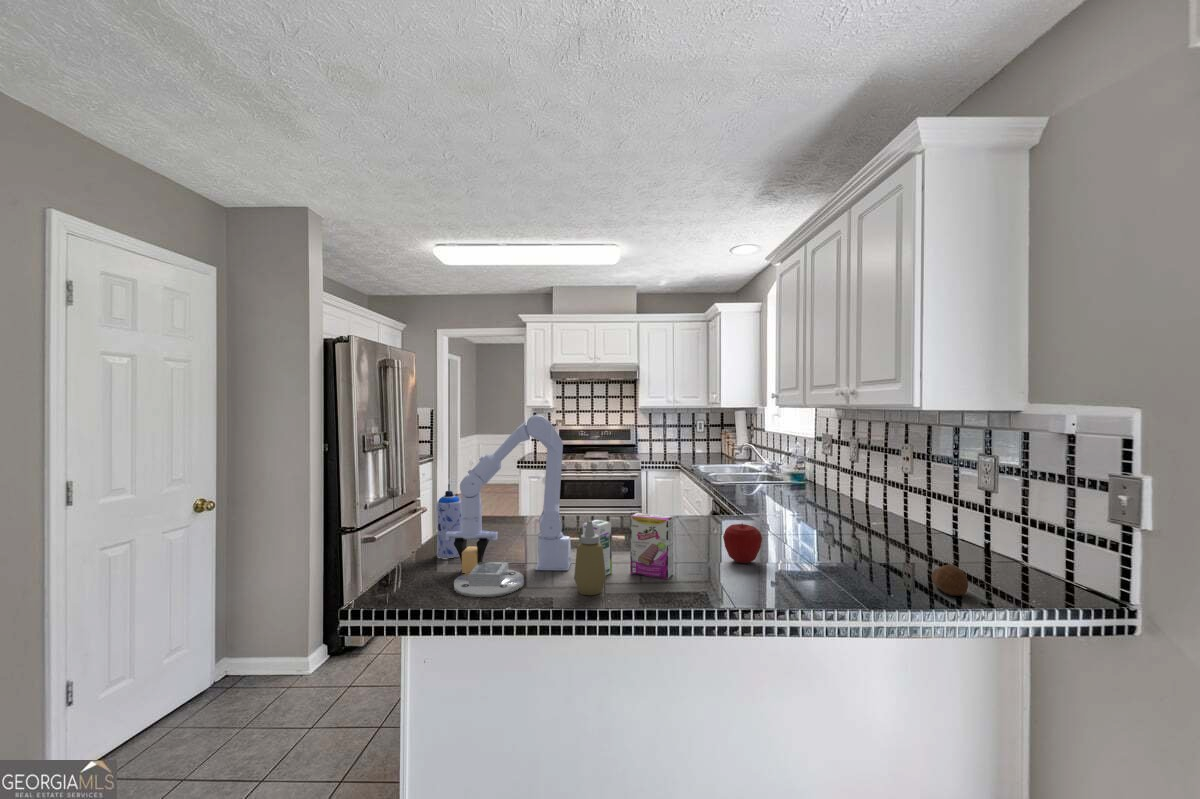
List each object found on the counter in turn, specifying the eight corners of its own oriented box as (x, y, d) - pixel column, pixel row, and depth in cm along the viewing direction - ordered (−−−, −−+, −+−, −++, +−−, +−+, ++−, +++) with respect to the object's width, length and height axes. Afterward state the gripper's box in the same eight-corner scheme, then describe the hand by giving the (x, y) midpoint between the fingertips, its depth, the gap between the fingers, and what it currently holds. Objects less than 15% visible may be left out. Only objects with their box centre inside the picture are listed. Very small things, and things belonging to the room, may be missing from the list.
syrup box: (599, 578, 155) (599, 525, 155) (583, 574, 159) (582, 522, 159) (612, 573, 160) (611, 521, 160) (595, 569, 163) (595, 518, 163)
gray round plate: (529, 574, 159) (529, 558, 159) (516, 598, 142) (515, 580, 141) (465, 573, 161) (465, 557, 160) (444, 597, 143) (444, 579, 142)
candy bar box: (629, 574, 159) (629, 515, 158) (636, 569, 163) (635, 512, 163) (668, 580, 154) (668, 519, 153) (674, 574, 158) (673, 515, 158)
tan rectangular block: (481, 567, 166) (481, 546, 166) (476, 573, 160) (475, 552, 160) (468, 566, 167) (468, 546, 166) (462, 573, 161) (461, 552, 160)
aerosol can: (435, 553, 180) (434, 490, 180) (460, 550, 183) (459, 488, 183) (439, 560, 173) (438, 494, 172) (465, 557, 176) (464, 492, 176)
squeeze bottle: (582, 600, 140) (582, 526, 140) (569, 589, 147) (568, 519, 147) (611, 594, 144) (611, 522, 143) (597, 584, 151) (596, 516, 150)
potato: (949, 584, 149) (949, 558, 149) (978, 599, 138) (979, 570, 138) (923, 585, 148) (923, 558, 148) (951, 600, 138) (951, 571, 138)
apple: (720, 565, 166) (720, 525, 166) (726, 555, 176) (726, 517, 176) (759, 569, 162) (759, 528, 162) (764, 559, 172) (764, 520, 171)
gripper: (441, 520, 160) (442, 568, 160) (493, 520, 159) (493, 569, 159) (449, 514, 167) (450, 561, 167) (499, 514, 166) (499, 561, 166)
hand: (472, 564), depth 163 cm, fingers closed on tan rectangular block, 4 cm apart
